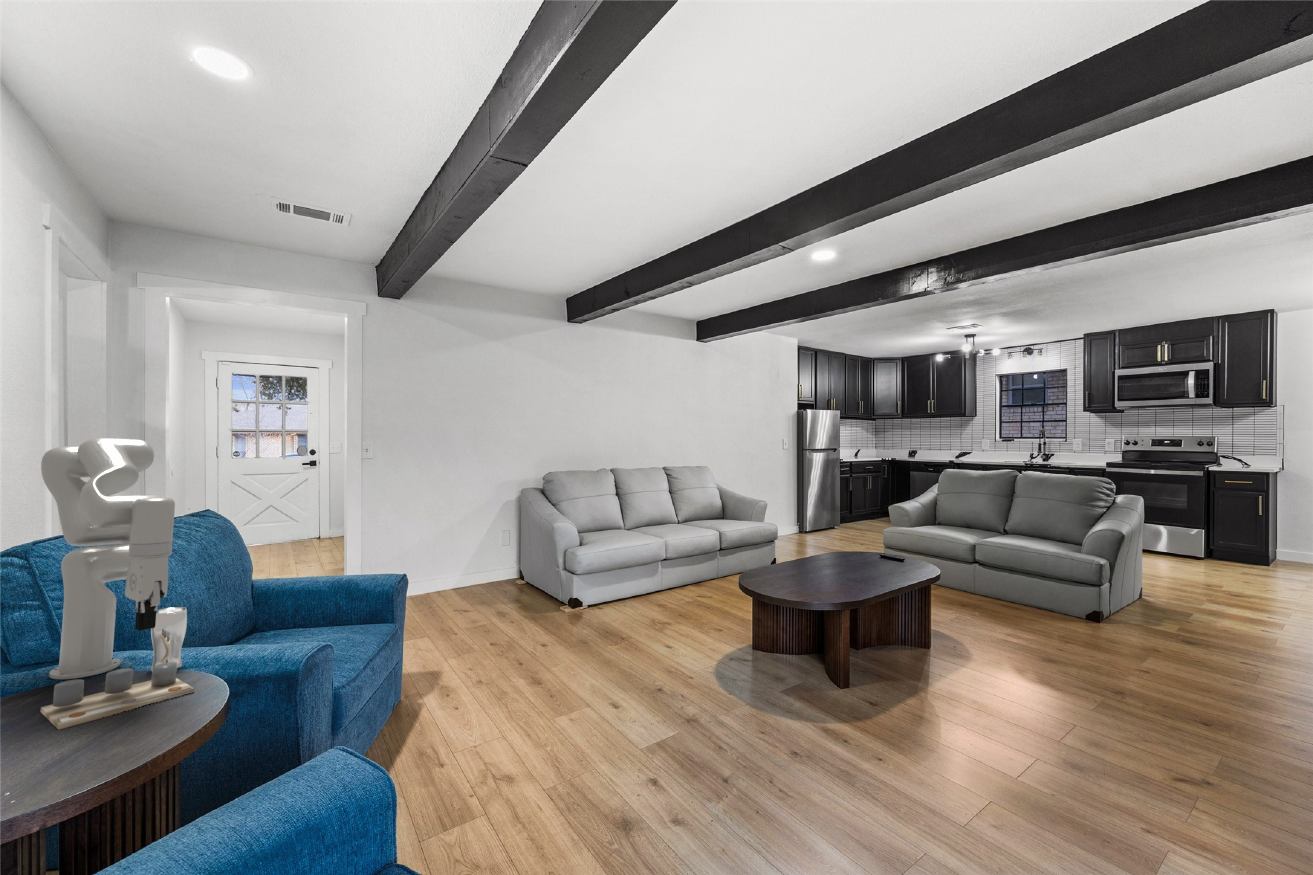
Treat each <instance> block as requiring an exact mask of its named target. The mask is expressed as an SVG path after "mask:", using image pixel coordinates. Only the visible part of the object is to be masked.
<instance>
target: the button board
mask: <svg viewBox="0 0 1313 875" xmlns="http://www.w3.org/2000/svg"><path fill="white" fill-rule="evenodd" d="M151 682H152V679H151V680H147V681H143V682H142V681H141V682H139V683H135V684H132V688H131V689H130V690H127V691H124V692H121V693H115V694H106V693H105V691H102V692H98V693H93V694H89V695H86V696H83V700H82V701H81V702H79V703H76V704H73V705H69V706H63V707H54V706H53V703H52V704H49V705H45V706H44V705H43V706H41V707H40V713H41V714H42V716H44V717H45V718H46V719H47V720H48V721H49V722H50V723H51V724H52V725H53V726H54V727H55V728H56V729H57V731H59V730H63V729H67V728H70V727H74V726H78V725H82V724H85V723H88V722H92V721H96V720H100V719H103V717H104V718H107V717H110V716H114V715H113V714H115V715H117V713H118V714H122V713H124V712H123V711H126V712H128V710H129V711H132V709H133V710H135V709H134V708H137V709H139V708H138V707H140V708H142V707H141V706H143V705H146V704H150V703H153V702H156V701H161V700H163V699H167V698H172V697H174V696H178V695H181V694H185V693H189V692H192V691H194V692H195V688H194V687H193V686H191V685H190V684H188V683H186V682H185V681H183V680H181V679H179V678H177V677H176V681H175V682H174V683H172V684H168V685H164V686H151ZM121 712H122V713H121Z"/></svg>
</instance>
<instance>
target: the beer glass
mask: <svg viewBox="0 0 1313 875" xmlns="http://www.w3.org/2000/svg"><path fill="white" fill-rule="evenodd" d="M187 613H188V610H187V607H183V606H177V607H176V606H175V607H166V608H160V609H157V611H156V625H155V627H154V628H151V630H150V634H151V644H152V649H153V650H152V651H153V661H152V665H151V667H150V672H151V673H152V668H153V667H154V666H156V665H159V664H163V663H170V662H174V663H177V670H178V669H180V668H181V667H182V666H183V663H182V662H183V661H182V657H181V654H182V647H183V642H184V639H185V637H186V632H187V624H188V623H187V622H188V616H187V615H188V614H187Z"/></svg>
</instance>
